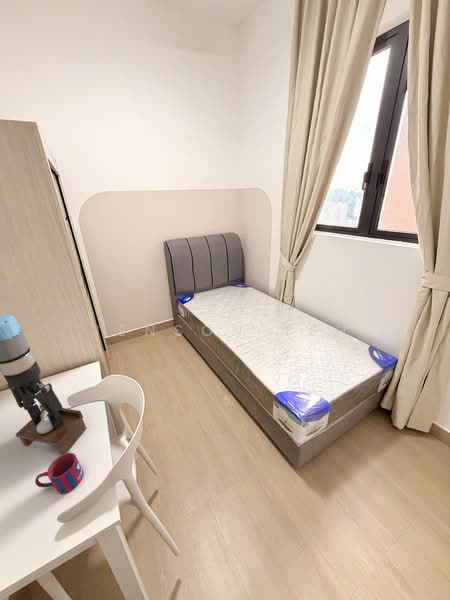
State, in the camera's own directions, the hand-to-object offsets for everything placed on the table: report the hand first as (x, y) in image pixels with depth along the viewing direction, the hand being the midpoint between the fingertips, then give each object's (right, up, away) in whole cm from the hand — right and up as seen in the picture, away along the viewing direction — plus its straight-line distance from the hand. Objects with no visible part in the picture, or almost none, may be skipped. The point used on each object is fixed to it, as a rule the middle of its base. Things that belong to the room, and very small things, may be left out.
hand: (49, 423), depth 76 cm
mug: (+12, -11, -10) cm, 19 cm away
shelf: (0, -6, +3) cm, 6 cm away
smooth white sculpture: (0, 0, 0) cm, 1 cm away
